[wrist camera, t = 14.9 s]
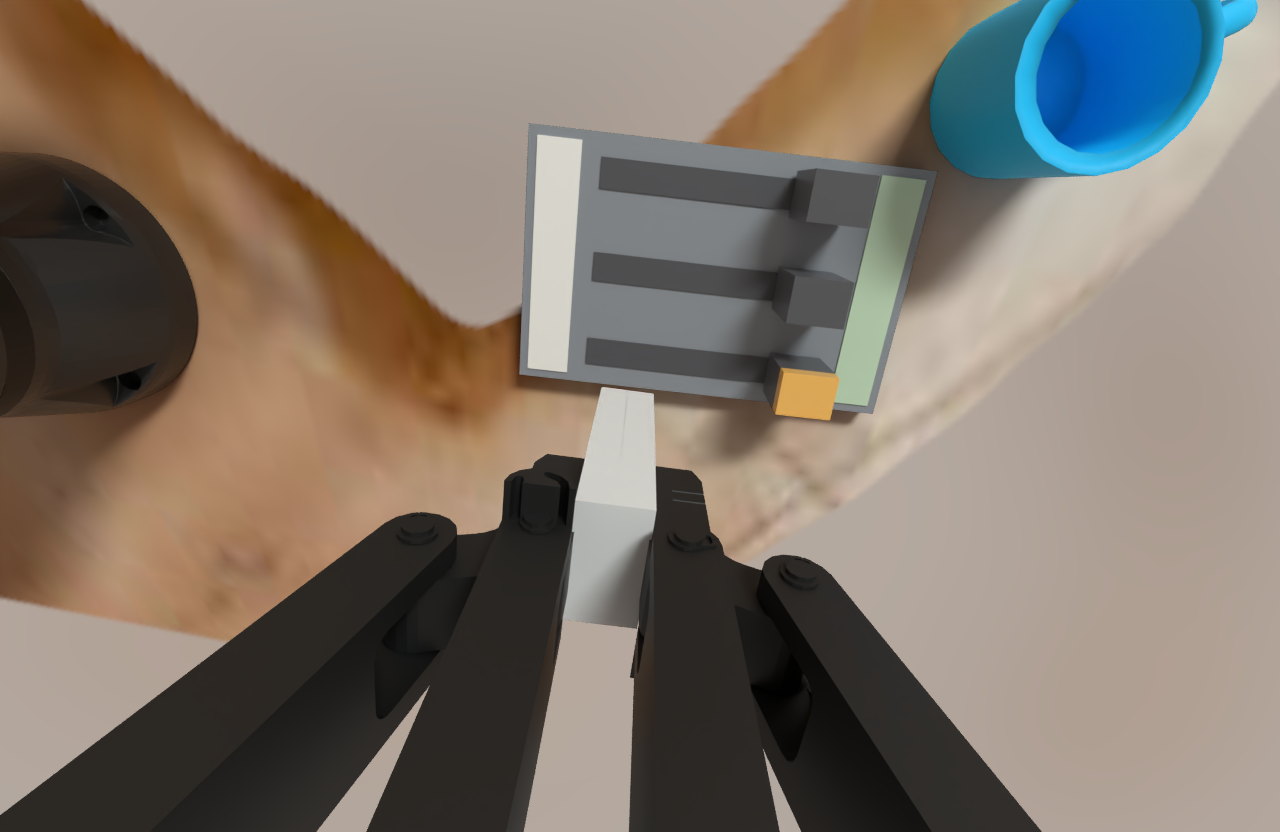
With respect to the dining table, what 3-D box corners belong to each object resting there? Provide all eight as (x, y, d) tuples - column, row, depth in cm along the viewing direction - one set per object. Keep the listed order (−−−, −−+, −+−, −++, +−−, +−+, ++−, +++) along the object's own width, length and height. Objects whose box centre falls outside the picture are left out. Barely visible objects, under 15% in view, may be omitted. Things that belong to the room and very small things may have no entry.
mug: (945, 202, 34) (1030, 205, 26) (914, 48, 31) (998, 2, 23) (1169, 115, 32) (1331, 91, 24) (1156, -56, 29) (1333, -143, 22)
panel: (524, 367, 38) (519, 374, 36) (534, 126, 33) (528, 122, 31) (864, 405, 38) (873, 414, 37) (925, 172, 33) (938, 171, 32)
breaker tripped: (762, 390, 36) (775, 414, 32) (770, 352, 35) (783, 372, 31) (811, 396, 36) (829, 420, 32) (819, 358, 35) (839, 378, 31)
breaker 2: (771, 308, 34) (785, 323, 30) (779, 266, 33) (795, 275, 30) (822, 314, 34) (843, 329, 30) (831, 272, 33) (854, 282, 30)
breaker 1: (788, 218, 32) (806, 221, 29) (797, 170, 32) (816, 168, 28) (842, 224, 33) (867, 228, 29) (852, 177, 32) (879, 175, 28)
